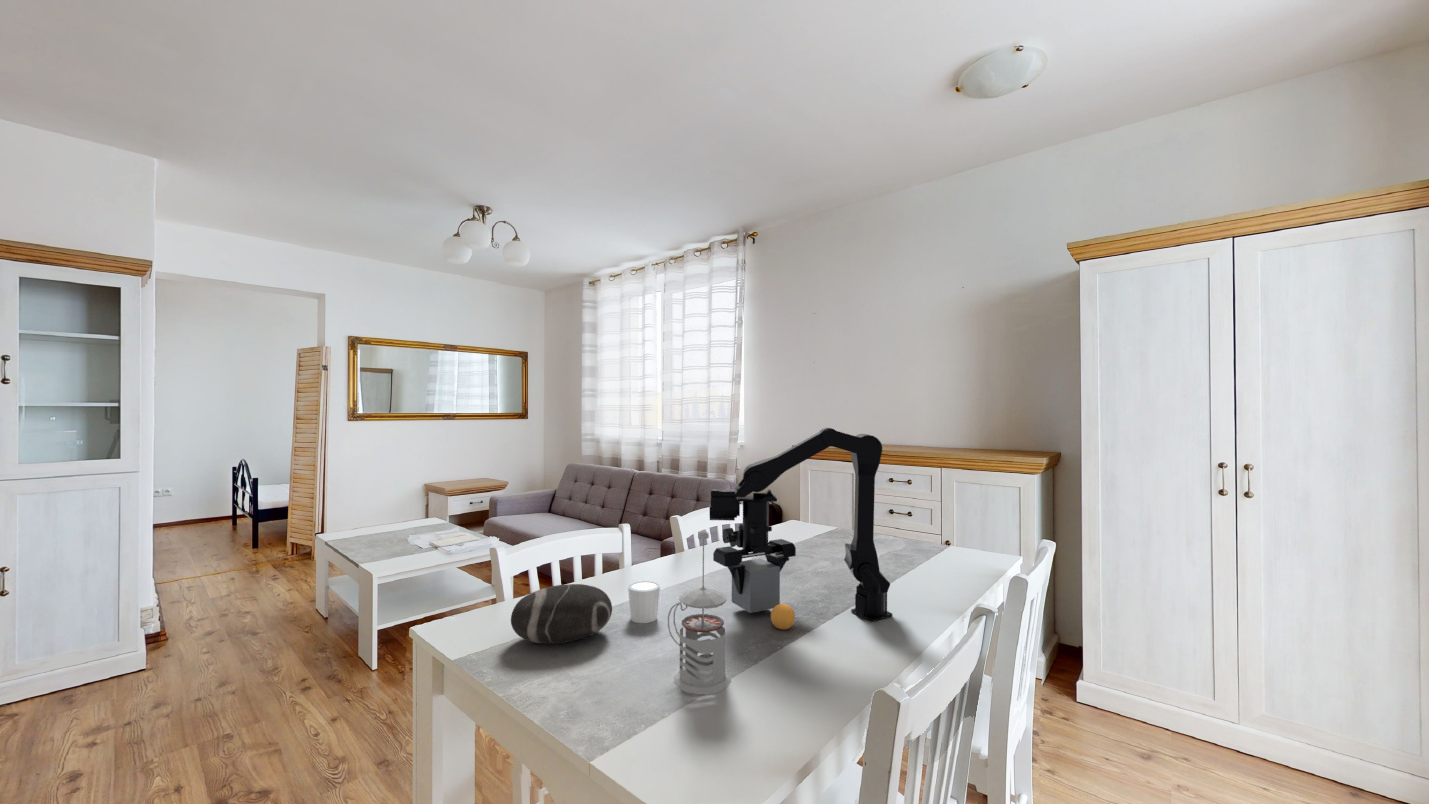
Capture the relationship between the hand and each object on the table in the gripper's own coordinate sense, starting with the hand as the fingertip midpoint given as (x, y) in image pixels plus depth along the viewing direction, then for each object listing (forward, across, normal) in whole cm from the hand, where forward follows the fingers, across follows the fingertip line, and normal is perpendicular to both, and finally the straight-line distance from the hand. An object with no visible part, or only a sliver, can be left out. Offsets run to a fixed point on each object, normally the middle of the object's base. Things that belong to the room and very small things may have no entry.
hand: (755, 590), depth 125 cm
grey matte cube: (+3, 0, 0) cm, 3 cm away
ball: (+2, 0, +10) cm, 11 cm away
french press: (+5, +25, +20) cm, 33 cm away
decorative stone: (+5, +41, -6) cm, 42 cm away
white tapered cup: (+5, +23, -8) cm, 25 cm away
